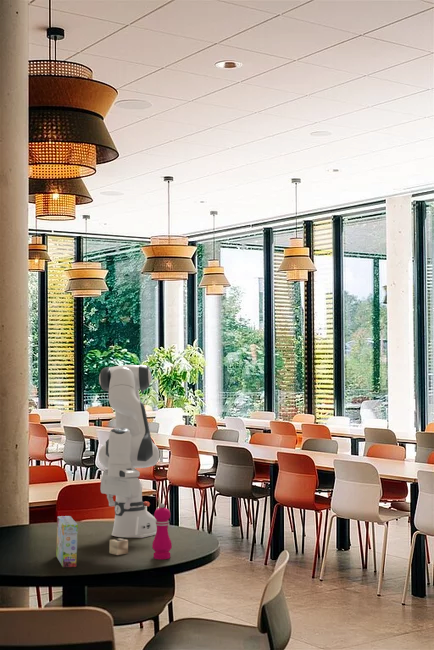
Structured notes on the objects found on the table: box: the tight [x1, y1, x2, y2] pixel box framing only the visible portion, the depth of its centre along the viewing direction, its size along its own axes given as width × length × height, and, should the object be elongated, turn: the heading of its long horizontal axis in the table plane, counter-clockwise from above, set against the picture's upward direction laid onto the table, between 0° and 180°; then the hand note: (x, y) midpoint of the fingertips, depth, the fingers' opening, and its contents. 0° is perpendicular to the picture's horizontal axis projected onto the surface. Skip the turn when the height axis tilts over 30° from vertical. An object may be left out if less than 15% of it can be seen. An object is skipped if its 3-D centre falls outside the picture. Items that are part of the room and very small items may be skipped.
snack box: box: [55, 515, 79, 568], centre depth 331 cm, size 21×6×15 cm, turn 17°
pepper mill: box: [151, 503, 173, 560], centre depth 338 cm, size 7×7×20 cm
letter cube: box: [108, 537, 129, 556], centre depth 347 cm, size 5×5×5 cm
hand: (119, 507), depth 347 cm, fingers open, 8 cm apart
